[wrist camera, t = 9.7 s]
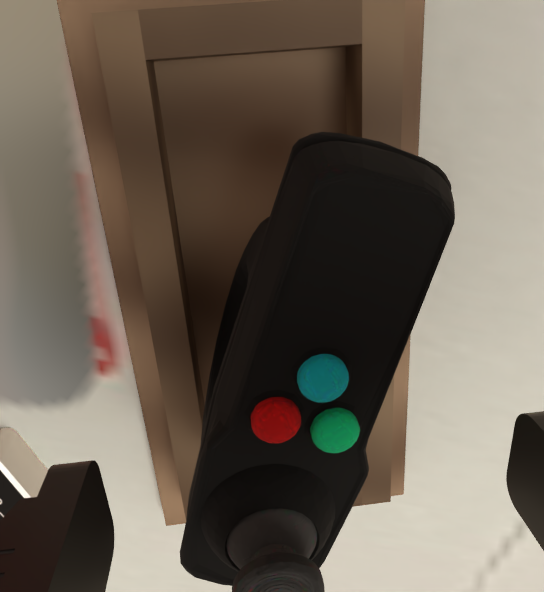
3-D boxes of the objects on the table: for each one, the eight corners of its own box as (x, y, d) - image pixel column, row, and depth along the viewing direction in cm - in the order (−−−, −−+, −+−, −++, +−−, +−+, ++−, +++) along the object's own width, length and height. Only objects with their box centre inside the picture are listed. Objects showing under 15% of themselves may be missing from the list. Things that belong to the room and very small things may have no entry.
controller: (180, 411, 21) (156, 673, 12) (262, 99, 17) (323, 132, 7) (281, 428, 22) (331, 684, 13) (384, 137, 17) (573, 206, 8)
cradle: (56, -42, 15) (21, -67, 13) (415, -64, 16) (456, -92, 13) (168, 508, 24) (162, 564, 21) (396, 478, 25) (418, 529, 22)
